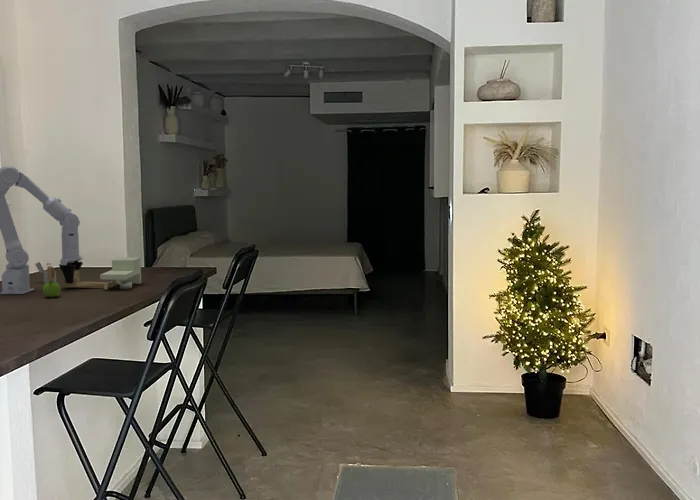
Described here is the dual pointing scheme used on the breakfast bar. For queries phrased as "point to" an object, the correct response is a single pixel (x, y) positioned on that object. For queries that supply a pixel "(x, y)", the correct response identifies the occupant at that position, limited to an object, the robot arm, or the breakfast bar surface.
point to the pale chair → (124, 270)
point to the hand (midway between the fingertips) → (71, 282)
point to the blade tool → (86, 283)
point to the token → (125, 284)
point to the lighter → (44, 272)
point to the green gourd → (51, 284)
